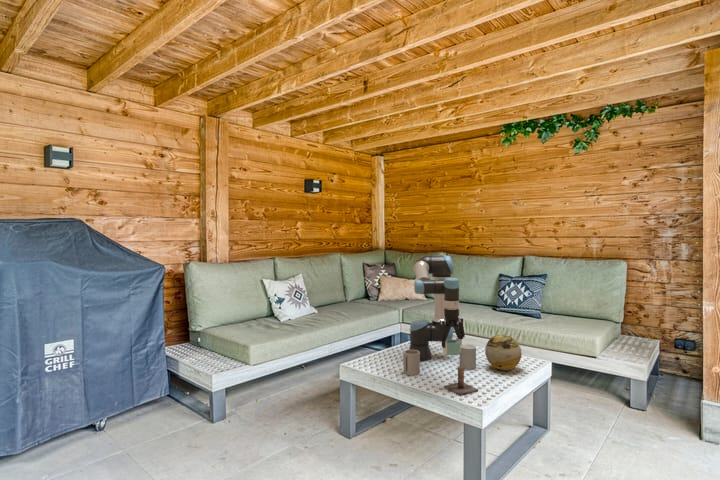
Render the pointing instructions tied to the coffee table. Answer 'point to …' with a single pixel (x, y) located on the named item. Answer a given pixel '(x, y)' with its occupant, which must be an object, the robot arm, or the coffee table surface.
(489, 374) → the coffee table surface
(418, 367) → the cup
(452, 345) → the collar
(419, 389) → the coffee table surface
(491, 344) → the decorative sphere
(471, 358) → the beige speckled cylinder
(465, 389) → the post stand
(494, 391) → the coffee table surface
